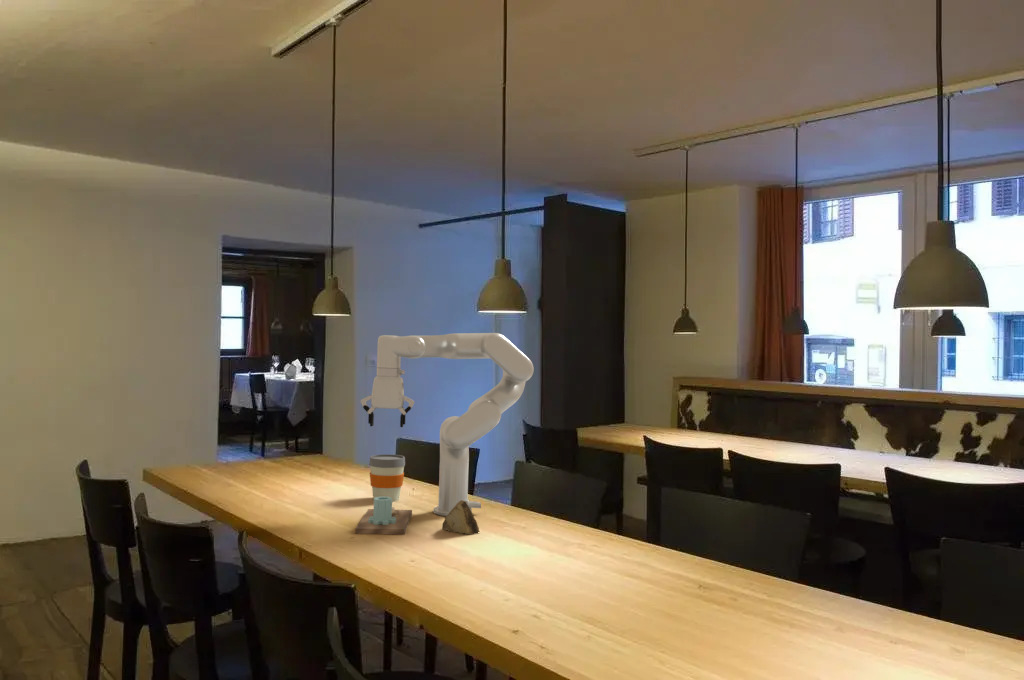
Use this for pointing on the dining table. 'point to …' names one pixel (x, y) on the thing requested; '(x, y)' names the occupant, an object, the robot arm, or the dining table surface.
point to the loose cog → (382, 511)
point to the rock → (461, 519)
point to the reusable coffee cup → (387, 475)
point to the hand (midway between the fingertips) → (386, 426)
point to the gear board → (395, 528)
